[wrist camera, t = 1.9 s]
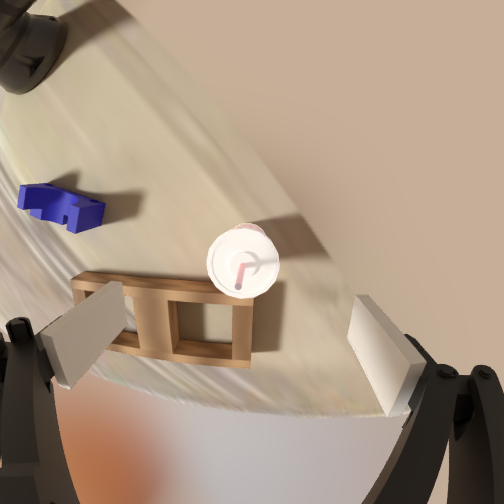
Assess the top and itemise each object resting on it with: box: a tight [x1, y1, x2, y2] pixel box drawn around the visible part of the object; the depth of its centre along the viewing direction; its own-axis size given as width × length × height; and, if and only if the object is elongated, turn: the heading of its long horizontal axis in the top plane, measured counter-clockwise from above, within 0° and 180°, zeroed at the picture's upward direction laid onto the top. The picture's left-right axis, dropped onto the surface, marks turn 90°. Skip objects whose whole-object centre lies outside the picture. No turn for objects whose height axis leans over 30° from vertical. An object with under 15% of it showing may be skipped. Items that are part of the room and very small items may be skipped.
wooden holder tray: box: [70, 272, 254, 369], centre depth 32 cm, size 24×10×4 cm, turn 88°
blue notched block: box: [17, 183, 105, 234], centre depth 28 cm, size 12×4×6 cm, turn 71°
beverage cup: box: [206, 223, 280, 299], centre depth 24 cm, size 6×6×14 cm
